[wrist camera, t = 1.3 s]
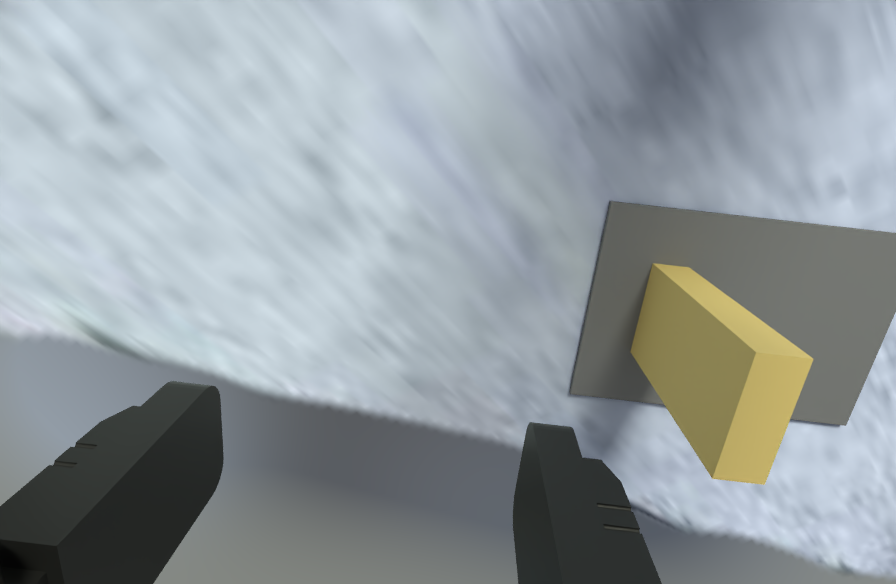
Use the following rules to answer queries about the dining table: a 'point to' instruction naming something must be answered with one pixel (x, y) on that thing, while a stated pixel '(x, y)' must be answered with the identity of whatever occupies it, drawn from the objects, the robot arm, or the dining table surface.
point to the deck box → (718, 372)
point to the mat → (745, 296)
